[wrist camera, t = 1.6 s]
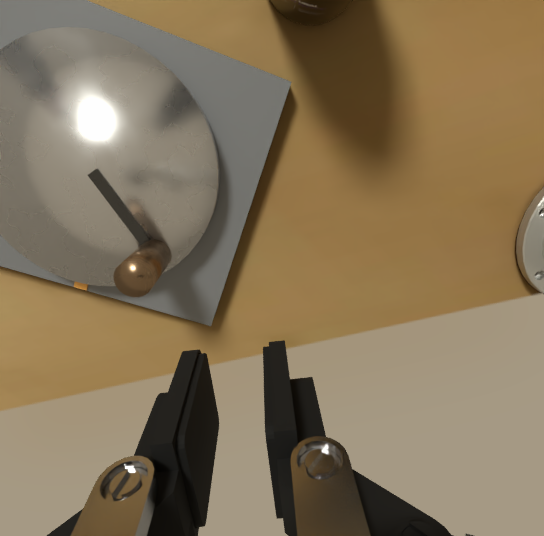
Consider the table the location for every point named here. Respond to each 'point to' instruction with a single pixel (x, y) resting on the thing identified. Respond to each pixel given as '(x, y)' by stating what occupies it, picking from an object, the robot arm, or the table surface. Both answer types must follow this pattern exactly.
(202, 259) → the base plate
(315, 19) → the supplement bottle
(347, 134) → the table surface
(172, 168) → the dial
